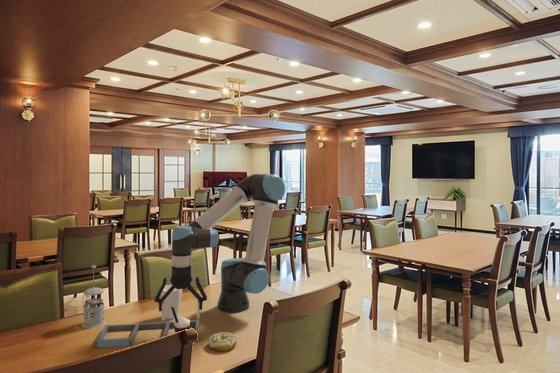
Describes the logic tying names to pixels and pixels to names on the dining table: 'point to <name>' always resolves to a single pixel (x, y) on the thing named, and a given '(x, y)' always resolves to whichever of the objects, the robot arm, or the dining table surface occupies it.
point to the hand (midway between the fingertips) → (180, 318)
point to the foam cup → (171, 302)
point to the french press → (93, 308)
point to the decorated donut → (222, 341)
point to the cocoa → (180, 322)
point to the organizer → (135, 327)
